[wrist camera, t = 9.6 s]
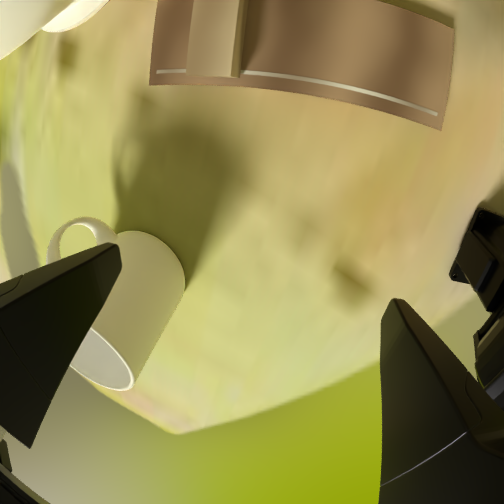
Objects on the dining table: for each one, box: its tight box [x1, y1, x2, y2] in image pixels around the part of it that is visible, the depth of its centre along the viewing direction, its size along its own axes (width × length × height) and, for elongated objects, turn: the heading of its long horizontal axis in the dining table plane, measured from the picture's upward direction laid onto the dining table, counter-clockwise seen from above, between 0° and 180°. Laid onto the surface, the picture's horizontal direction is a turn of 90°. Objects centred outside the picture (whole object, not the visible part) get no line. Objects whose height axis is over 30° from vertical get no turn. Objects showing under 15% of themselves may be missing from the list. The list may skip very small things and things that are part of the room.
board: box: [149, 0, 454, 131], centre depth 13 cm, size 18×7×2 cm, turn 84°
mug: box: [46, 216, 185, 391], centre depth 20 cm, size 9×12×11 cm
